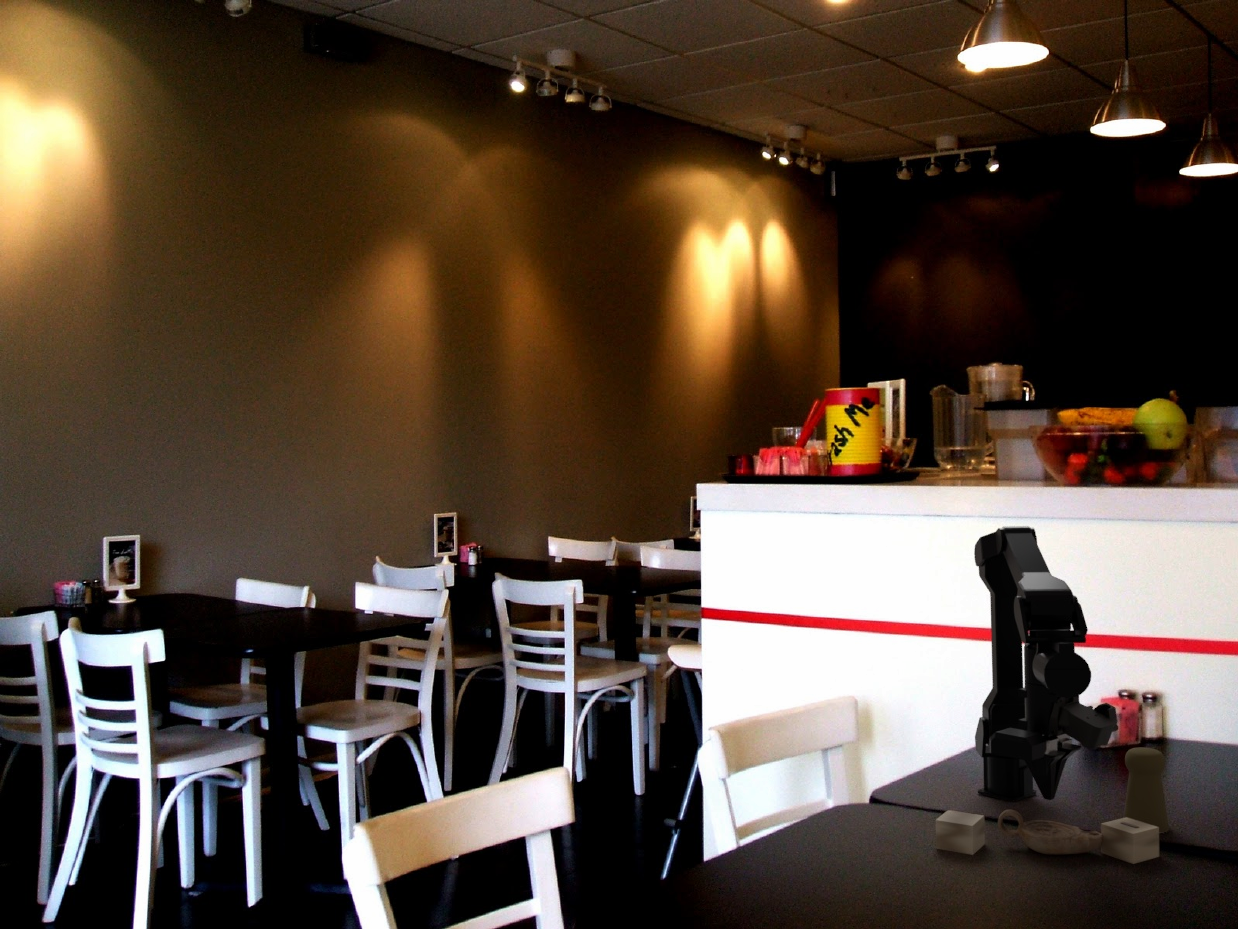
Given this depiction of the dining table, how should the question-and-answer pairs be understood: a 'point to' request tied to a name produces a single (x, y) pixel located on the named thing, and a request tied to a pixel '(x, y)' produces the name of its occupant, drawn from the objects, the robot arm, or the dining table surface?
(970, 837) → the beech block left
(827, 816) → the dining table surface
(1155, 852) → the beech block right
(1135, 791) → the pepper shaker
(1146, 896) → the dining table surface
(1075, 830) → the oil lamp
